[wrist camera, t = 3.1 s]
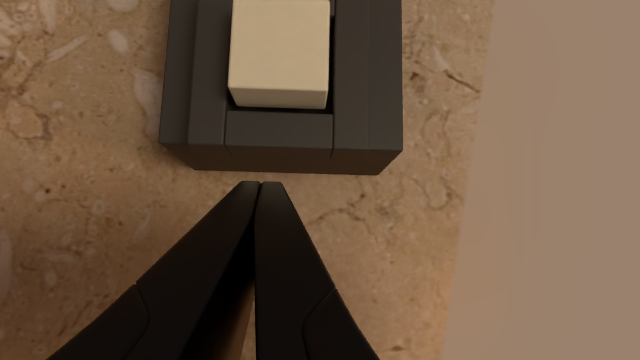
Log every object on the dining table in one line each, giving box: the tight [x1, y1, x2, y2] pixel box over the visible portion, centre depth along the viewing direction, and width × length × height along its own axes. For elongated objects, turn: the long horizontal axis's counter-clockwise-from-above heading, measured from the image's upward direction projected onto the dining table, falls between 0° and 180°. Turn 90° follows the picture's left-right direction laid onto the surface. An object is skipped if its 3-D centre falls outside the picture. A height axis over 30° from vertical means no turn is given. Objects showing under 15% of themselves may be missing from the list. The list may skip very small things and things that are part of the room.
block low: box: [158, 0, 403, 175], centre depth 18 cm, size 12×9×7 cm
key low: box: [228, 0, 330, 109], centre depth 13 cm, size 3×3×2 cm
